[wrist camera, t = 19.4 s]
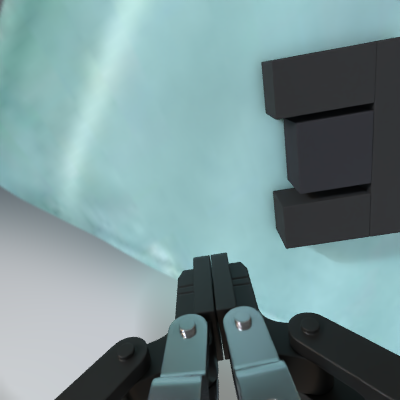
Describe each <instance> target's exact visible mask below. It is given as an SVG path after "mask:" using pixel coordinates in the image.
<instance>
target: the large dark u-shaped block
mask: <svg viewBox="0 0 400 400" xmlns="http://www.w3.org/2000/svg"><path fill="white" fill-rule="evenodd" d="M262 74H263V85H264V97H265V108H266V114H268V115H270V116H271V117H273V118H275V119H282V118H288V117H294V116H300V115H306V114H311V113H317V112H323V111H329V110H335V109H340V108H346V107H352V106H354V107H358V108H363V109H368V110H373V111H374V121H373V148H372V175H371V183H368V184H362V185H355V186H349V187H343V188H336V189H330V190H324V191H317V192H311V193H305V194H299V192H298V191H297V190H296V189H295V188H291V189H285V190H278V191H273V198H274V209H275V220H276V229H277V231H278V233H279V235H280V237H281V239H282V241H283V243H284V245H285V247H286V249H288V248H295V247H302V246H308V245H315V244H322V243H329V242H335V241H342V240H349V239H356V238H363V237H369V236H377V235H384V234H390V233H397V232H400V37H396V38H391V39H385V40H380V41H374V42H369V43H364V44H358V45H353V46H347V47H342V48H336V49H331V50H326V51H320V52H315V53H309V54H304V55H298V56H293V57H288V58H282V59H277V60H271V61H266V62H262Z"/></svg>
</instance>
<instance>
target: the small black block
mask: <svg viewBox="0 0 400 400" xmlns="http://www.w3.org/2000/svg"><path fill="white" fill-rule="evenodd" d="M283 119H284V134H285V148H286V163H287V177H288V180H289V182H290V183H291V184H292V185H293V186H294V188H295V189H296V190H297V191H298V192H299V194H305V193H311V192H317V191H324V190H330V189H336V188H343V187H349V186H355V185H362V184H368V183H371V175H372V148H373V121H374V111H373V110H368V109H363V108H358V107H354V106H352V107H346V108H340V109H335V110H329V111H323V112H317V113H311V114H306V115H300V116H294V117H288V118H283Z"/></svg>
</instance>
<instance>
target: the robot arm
mask: <svg viewBox="0 0 400 400" xmlns="http://www.w3.org/2000/svg"><path fill="white" fill-rule="evenodd" d="M211 263H212V266H211ZM221 339H222V341H221ZM222 344H223V350H224V355H225V359H230V364H231V369H232V374H233V380H234V385H235V390H236V394H237V399H238V400H400V356H399V355H397V354H395V353H393V352H391V351H389V350H387V349H385V348H383V347H381V346H379V345H377V344H375V343H373V342H371V341H369V340H368V339H366V338H364V337H362V336H360V335H358V334H356V333H354V332H352V331H350V330H348V329H346V328H344V327H342V326H340V325H338V324H337V323H335V322H333V321H331V320H329V319H327V318H325V317H323V316H321V315H319V314H315V313H300V314H297V315H295V316H294V317H292V318H291V319H290V321H289V323H283V322H276V321H273V320H270V319H268V318H266V317H265V316H263V315H262V314H261V312H260V311H259V309H258V306H257V302H256V298H255V295H254V291H253V288H252V284H251V281H250V278H249V274H248V270H247V268H246V267H245V266H244V265H243V264H242V263H241V262H237V263H230V264H229V262H228V257H227V253H220V254H214V255H211V260H210V256H209V255H208V256H201V257H195V258H193V269H191V270H185V271H183V272H182V274H181V275H180V277H179V278H178V289H177V302H176V316H175V320H174V321H173V322H172V324H171V325H170V327H169V330H168V334H166V335H165V336H164V337H162V338H160V339H158V340H157V341H154V342H151V343H149V344H146V342H145V341H144V340H143V339H141V338H138V337H129V338H126V339H123V340H121V341H119V342H118V343H116V344H115V345H114V346H113V347H111V348H110V349H109V350H108V351H107V352H106V353H105V354H104V355H103V356H102V357H101V358H99V359H98V360H97V361H96V362H95V363H94V364H93V365H92V366H91V367H90V368H89V369H87V370H86V371H85V372H84V373H83V374H82V375H81V376H80V377H79V378H78V379H77V380H75V381H74V382H73V383H72V384H71V385H70V386H69V387H68V388H67V389H66V390H65V391H63V393H61V394H60V395H59V396H58V397H57V398H56V399H55V400H219V380H218V361H220V360H223V350H222Z"/></svg>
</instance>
